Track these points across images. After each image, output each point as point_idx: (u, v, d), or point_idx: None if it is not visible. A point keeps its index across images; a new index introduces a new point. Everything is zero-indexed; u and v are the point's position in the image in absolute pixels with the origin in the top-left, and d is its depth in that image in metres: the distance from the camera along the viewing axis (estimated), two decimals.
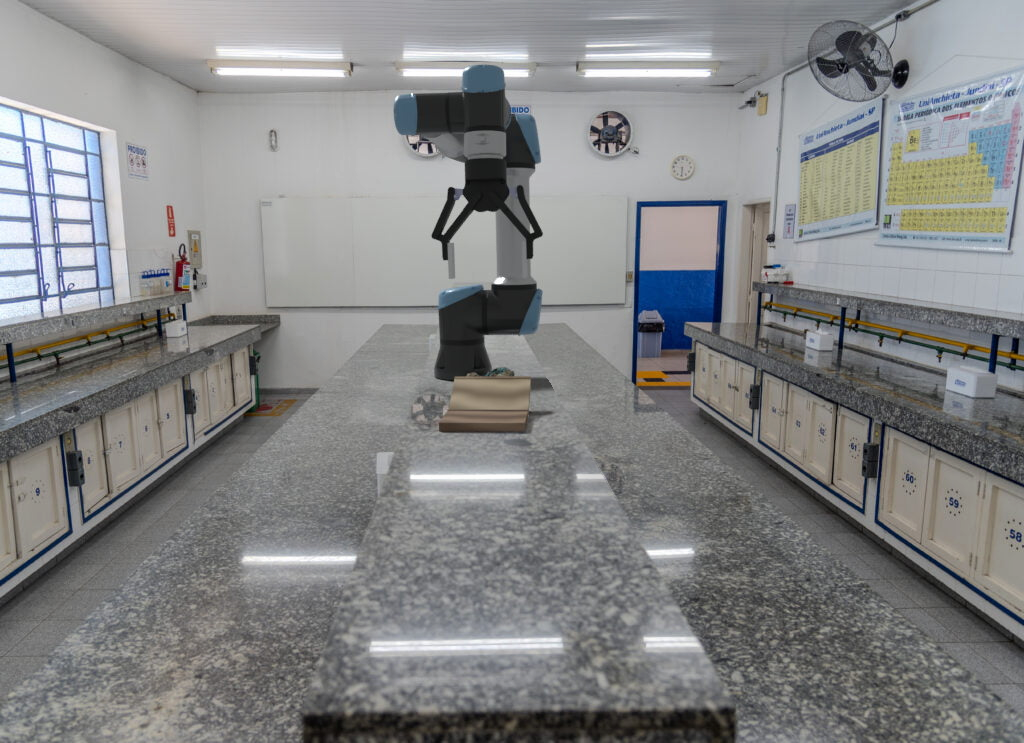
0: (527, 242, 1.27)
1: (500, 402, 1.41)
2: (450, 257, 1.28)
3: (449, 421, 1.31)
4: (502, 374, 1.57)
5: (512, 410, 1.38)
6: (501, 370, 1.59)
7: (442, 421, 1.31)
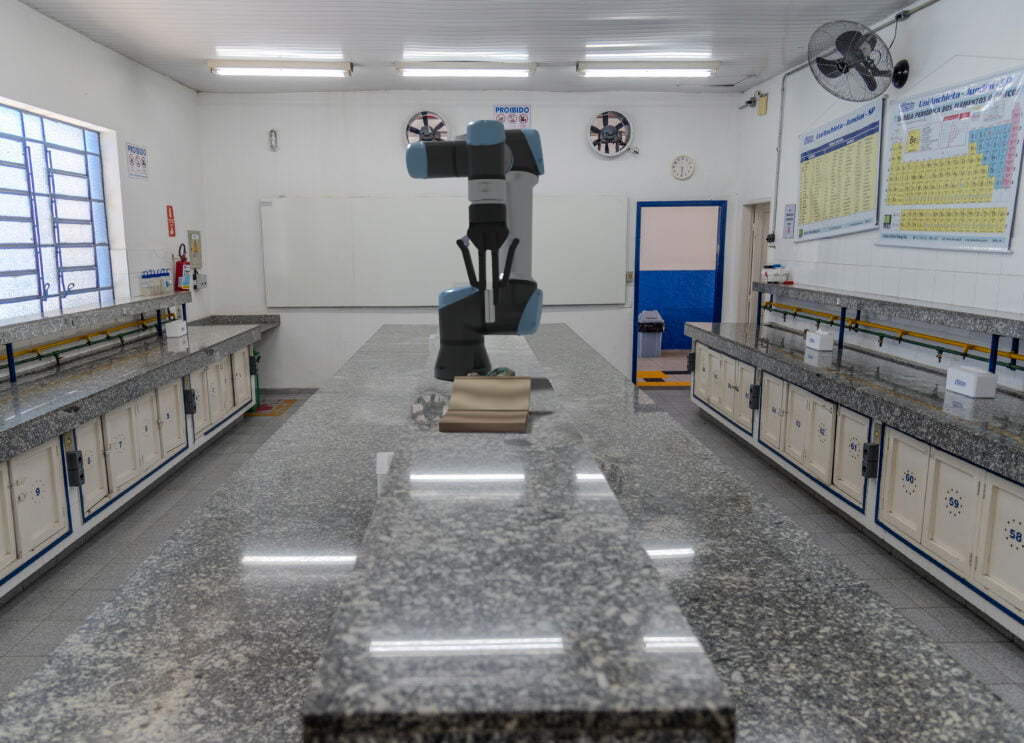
0: (494, 290, 1.41)
1: (500, 402, 1.41)
2: (487, 303, 1.41)
3: (449, 421, 1.31)
4: (503, 374, 1.57)
5: (512, 410, 1.38)
6: (502, 370, 1.59)
7: (442, 421, 1.31)
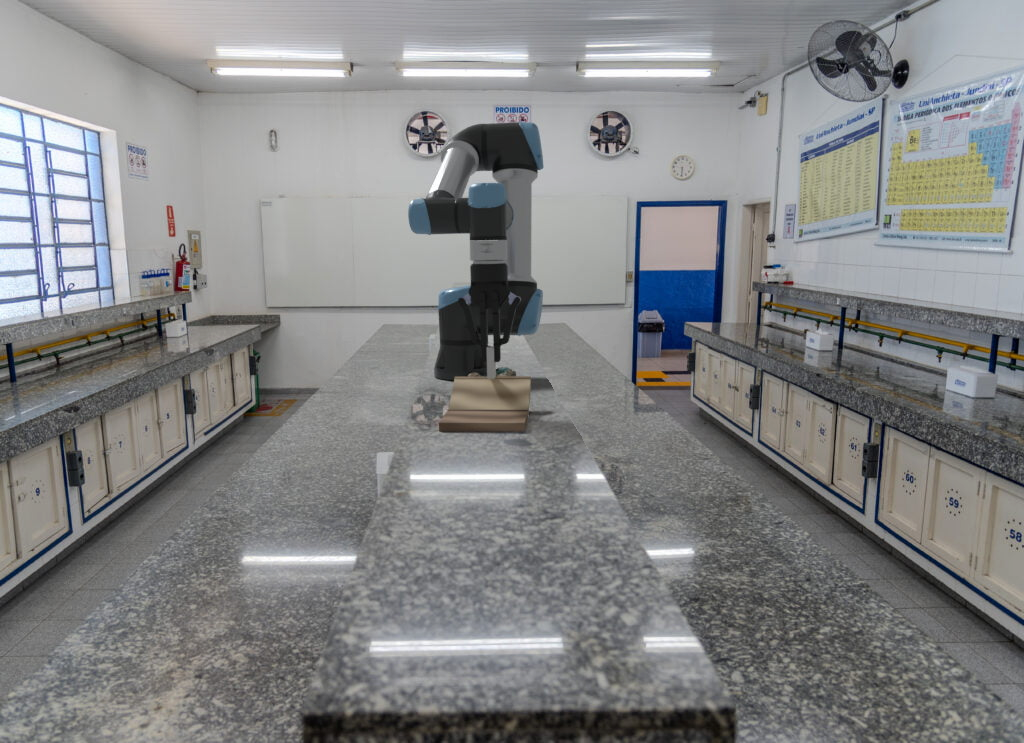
0: (495, 347, 1.43)
1: (500, 402, 1.41)
2: (489, 360, 1.43)
3: (449, 421, 1.31)
4: (503, 374, 1.57)
5: (512, 410, 1.38)
6: (503, 370, 1.59)
7: (442, 421, 1.31)
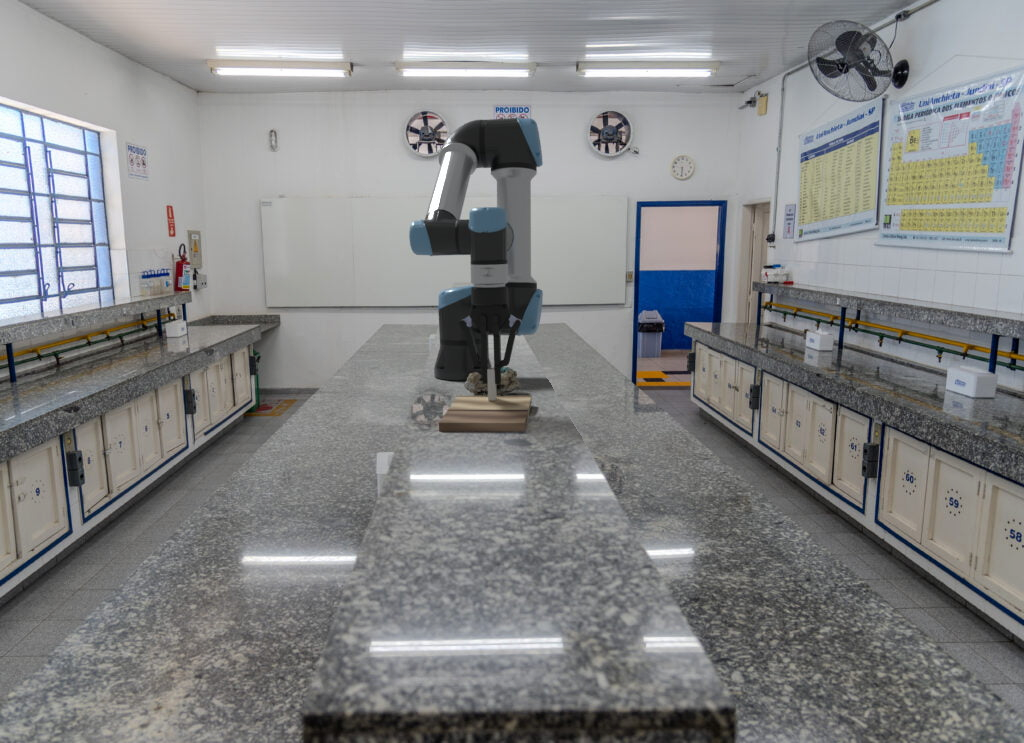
0: (495, 369, 1.45)
1: (500, 406, 1.41)
2: (489, 382, 1.44)
3: (449, 421, 1.31)
4: (504, 374, 1.57)
5: (512, 410, 1.38)
6: (503, 370, 1.59)
7: (442, 421, 1.31)
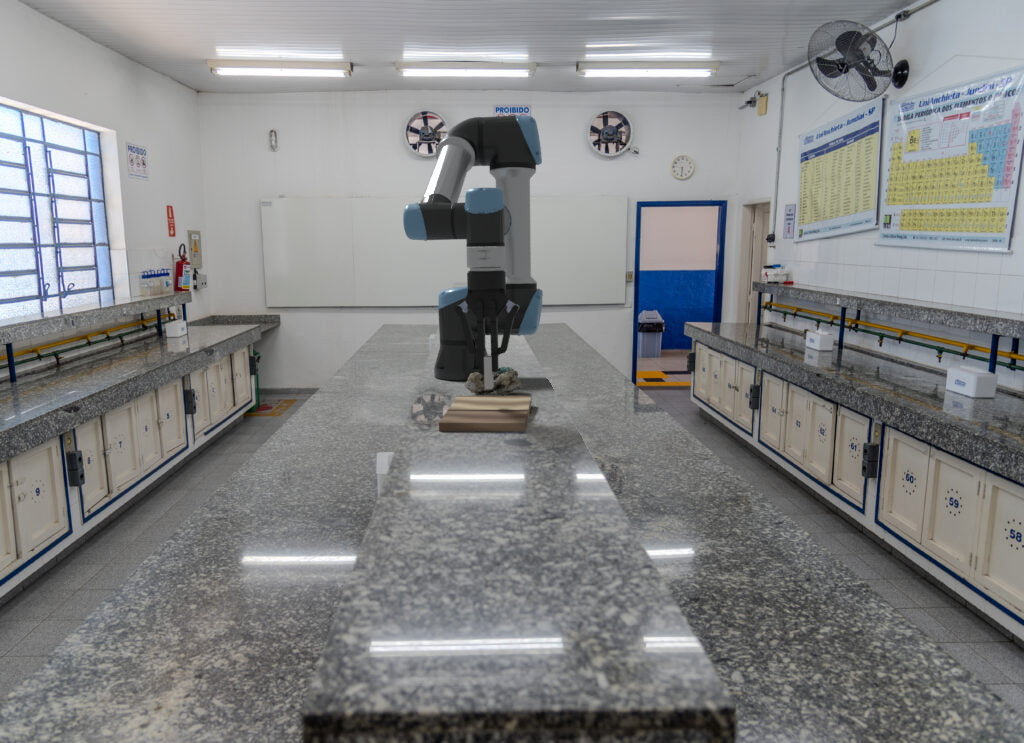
0: (492, 357, 1.39)
1: (500, 406, 1.41)
2: (486, 370, 1.39)
3: (449, 421, 1.31)
4: (505, 374, 1.57)
5: (512, 410, 1.38)
6: (504, 370, 1.59)
7: (442, 421, 1.31)
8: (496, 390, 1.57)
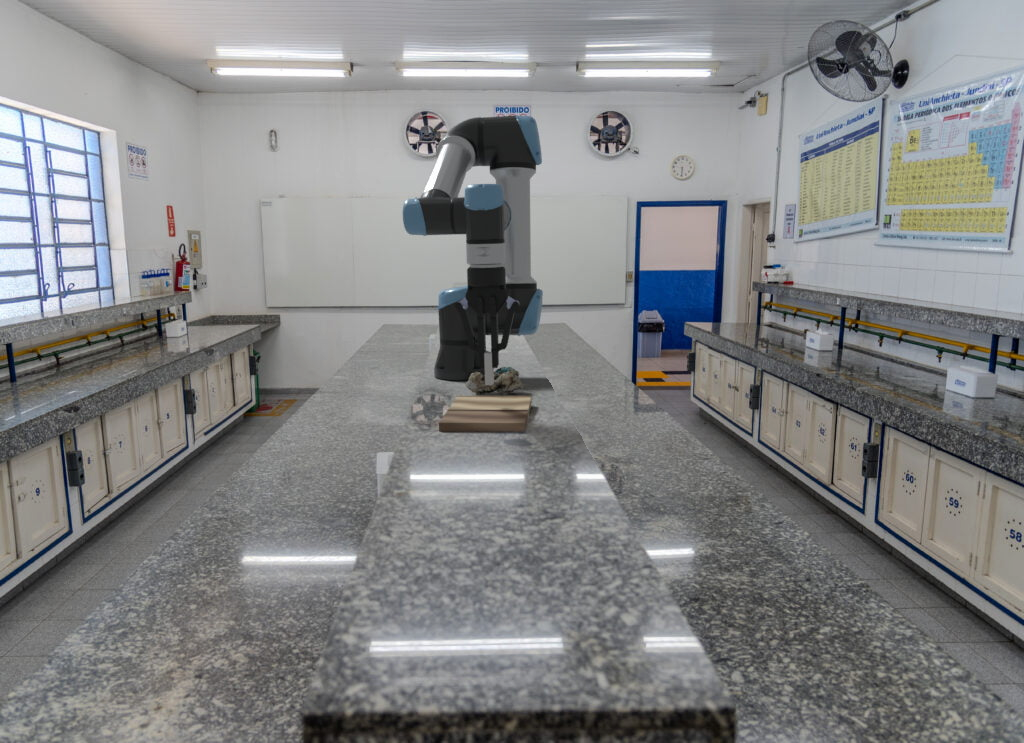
0: (493, 353, 1.40)
1: (500, 406, 1.41)
2: (486, 366, 1.40)
3: (449, 421, 1.31)
4: (506, 374, 1.57)
5: (512, 410, 1.38)
6: (505, 370, 1.59)
7: (442, 421, 1.31)
8: (497, 390, 1.57)
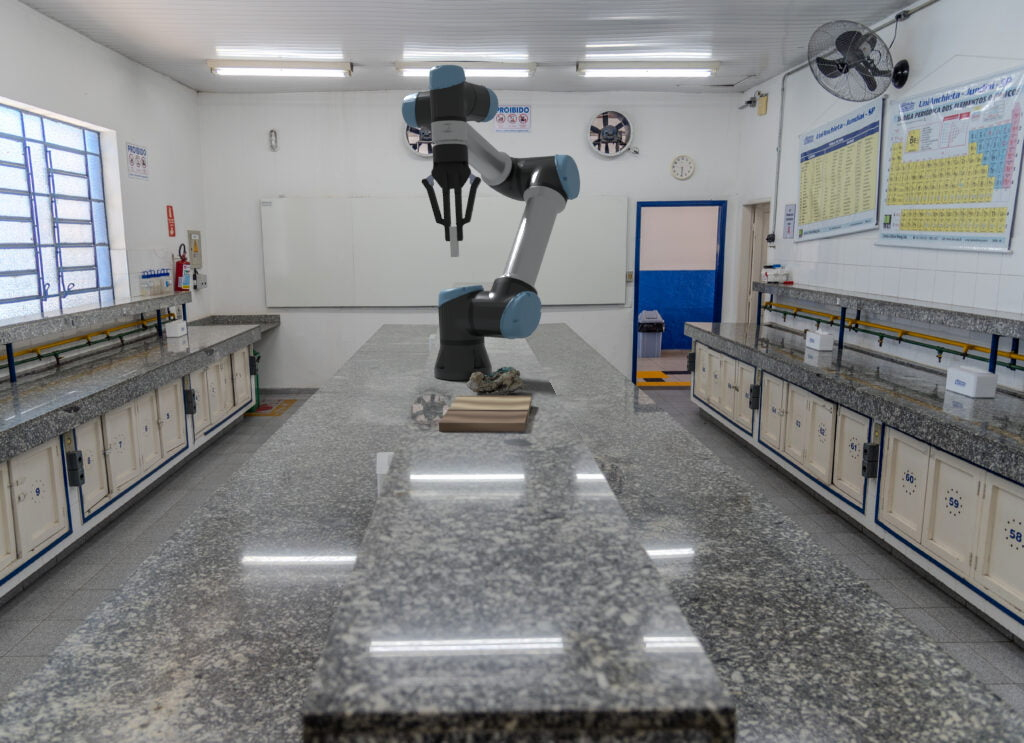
0: (457, 227, 1.52)
1: (500, 406, 1.41)
2: (452, 238, 1.52)
3: (449, 421, 1.31)
4: (507, 373, 1.57)
5: (512, 410, 1.38)
6: (506, 369, 1.59)
7: (442, 421, 1.31)
8: (498, 390, 1.58)
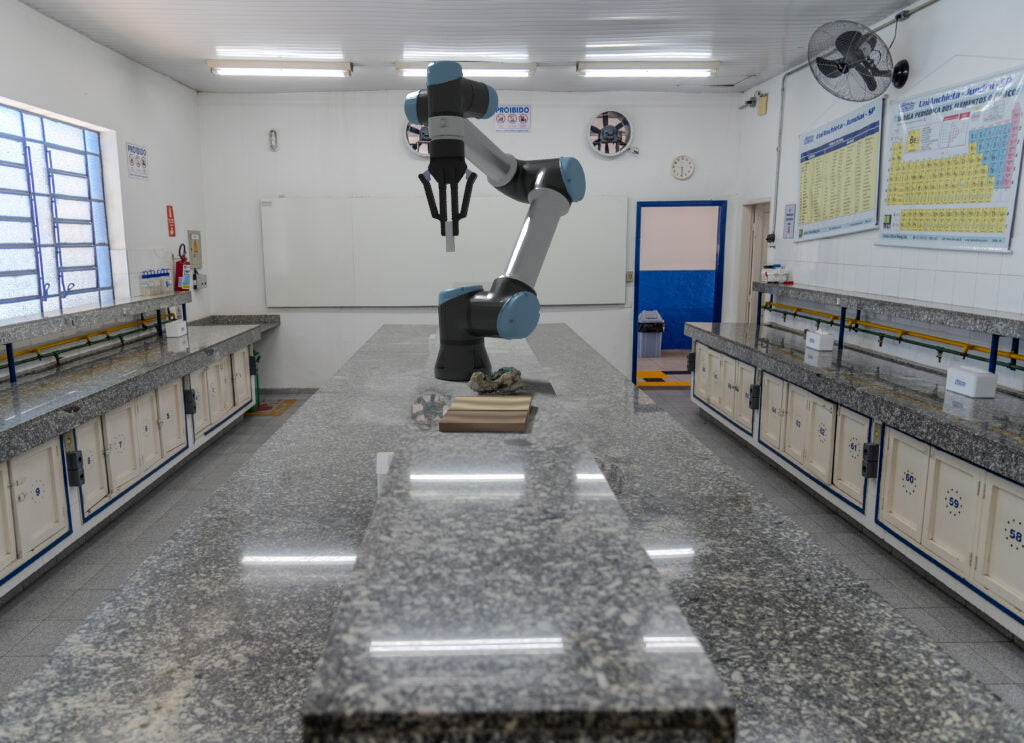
0: (453, 222, 1.52)
1: (500, 406, 1.41)
2: (447, 233, 1.52)
3: (449, 421, 1.31)
4: (507, 373, 1.57)
5: (512, 410, 1.38)
6: (507, 369, 1.59)
7: (442, 421, 1.31)
8: (499, 390, 1.58)
